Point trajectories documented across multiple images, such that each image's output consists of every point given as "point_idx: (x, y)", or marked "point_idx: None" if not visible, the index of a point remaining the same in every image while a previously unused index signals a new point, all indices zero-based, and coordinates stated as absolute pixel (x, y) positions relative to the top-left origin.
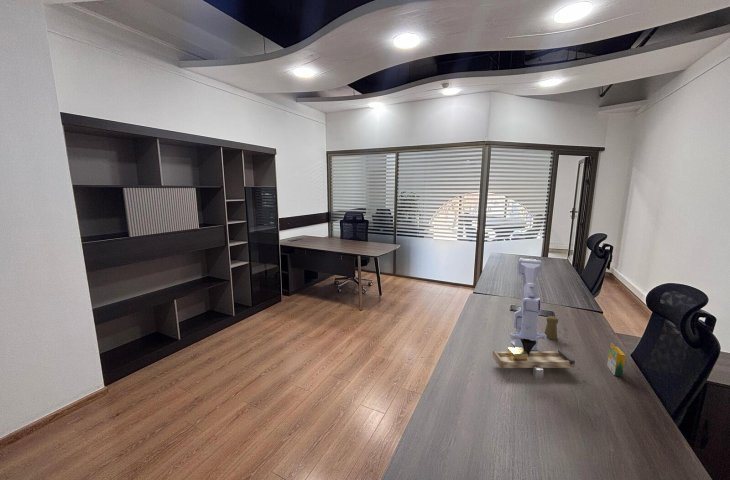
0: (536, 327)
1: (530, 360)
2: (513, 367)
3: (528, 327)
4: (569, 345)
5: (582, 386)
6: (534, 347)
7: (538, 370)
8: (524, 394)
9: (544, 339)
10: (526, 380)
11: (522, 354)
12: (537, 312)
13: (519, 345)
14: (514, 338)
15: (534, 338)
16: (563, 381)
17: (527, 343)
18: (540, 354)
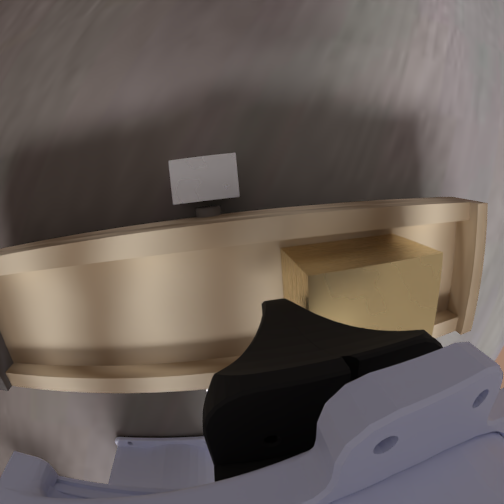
0: None
1: (234, 282)
2: (386, 200)
3: None
4: (5, 442)
5: (4, 133)
6: (129, 451)
7: (215, 156)
8: (359, 25)
9: (34, 457)
10: (302, 133)
11: (363, 262)
12: None
13: (208, 461)
14: None
15: (375, 457)
16: (65, 156)
17: (414, 334)
18: (119, 368)
